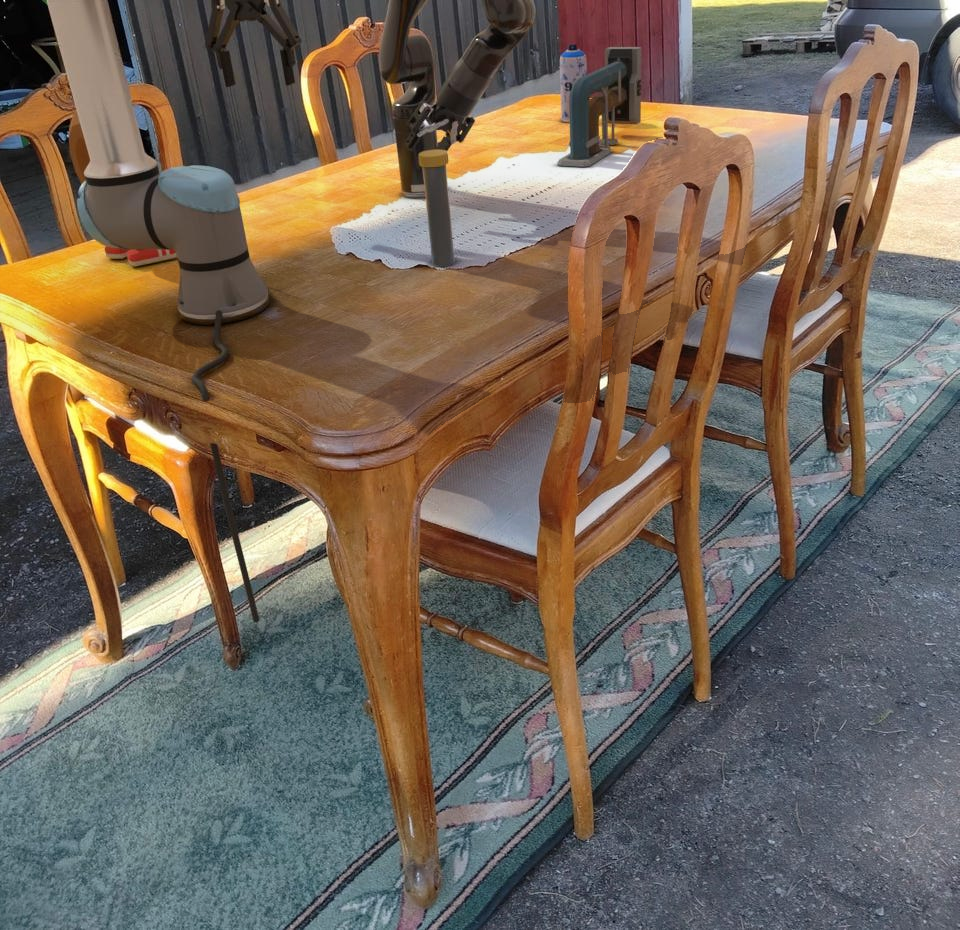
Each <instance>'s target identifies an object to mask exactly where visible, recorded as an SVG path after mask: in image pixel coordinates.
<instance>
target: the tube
mask: <svg viewBox="0 0 960 930" xmlns="http://www.w3.org/2000/svg"><path fill="white" fill-rule="evenodd" d="M422 168H423V178H424V188H425V197H424V198H425V205H426V215H427V223H428V224H427V225H428V235H429V236H428V237H429V245H430V253H431V254H430V255H431V263H432V265H433V266H435V267H448V266H449V267H450V266H452V265H453V264H455V262H456V261H455V250H454V249H455V248H454V238H453V228H452V227H453V226H452V216H451V206H450V205H451V204H450V194H449V183H448V172H447V164H446V165H444V166H439V167H422Z"/></svg>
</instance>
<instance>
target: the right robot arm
mask: <svg viewBox="0 0 960 930" xmlns="http://www.w3.org/2000/svg"><path fill="white" fill-rule="evenodd" d="M427 2H428V0H388V5H387V11H386V14H385V20H384V24H383V29H382V34H381V38H380V42H379V49H378V50H379V51H378V68H379V72H380V76H381V78H382V79H383V81H385V83H387V84H389V85H402V84H408V83H409V86H408V88H407V90H406V91H405V92H404V93H403V94H402V95H401V96H400V97H399V98H397V99H396V100H394V101H393V103H392V104H391V105H392V106H391V111H392V118H393V126H394V127H393V128H394V135H395V144H396V151H397V160H398V161H397V162H398V170H399V171H398V172H399V180H400V187H401V189H400V192H401V195H402V196H403V197H406V198H415V199H416V198H417V199H419V198H426V197H425V188H424V178H423V168H422V166H420V165H419V158H418V157H419V153H421V152H423V151H427V150H446V151H447V152H448V151H449V149H450V148H451V146H452V145H454V144H456V142H457V143H459V144H460V143H463V142H464V141H465V139H466V137H467V135H468V134H469V132H470V131H471V129H472V127H473V126H474V124H475V122H476V119H475V118H474V116H472V112H473V110H474V109H475V108H476V106H477V105H478V103H479V101H480V100H481V98H482V97H483V95H484V93H485V92H486V90H487V89H488V87H489V85H490V83H491V80H492V79H493V78H494V76H495V74H496V73H497V71H498V70H499V68H500V67H501V65H502V63H503V62H504V60H505V58H506V57H508V55H509V54H510V53H511V52H513V50H514V49H515V48H516V47H517V46H518V44H519V43H520V42H521V41H523V39H524V37H525V36H526V35H527V34H528V32H529V31H530V29H531V28H532V26H533V24H534V21H535V18H536V5H535V2H534V1H533V0H481V4H482V9H483V12H484V15H485V17H486V20H487V22H488V23H489V25H488V26H487V27H486V29H484V30H483V31H481V32H479V33H477V34H476V35H475V36H474V37H473V39H472V40H471V42H470V43H469V44H468V46H467V48H466V49H465V51H464V53H463V54H462V56H461V57H460V59H459V60H458V61H457V62H456V63H455V65H454V66H453V67H452V69H451V71H450V73H449V75H448V76H447V78H446V79H445V81H444V82H443V84H442V85H441V86H440V89H439V90H438V92H437V93H436V77H435V76H436V74H435V58H434V51H433V48H432V45H431V42H430V40H429V39H428V37H426V35H424V34H421V33H414V34H410V31H411V28H412V27H413V23H414V22H415V20H416V18H417V16H418V15H419V13H420V12H421V11H422V9H423V8H424V6H425V5H426V4H427ZM436 94H437V97H436ZM437 131H442V132H444V133H445V136H444V135H443V137H442V138H441V140H440V141H438V132H437Z"/></svg>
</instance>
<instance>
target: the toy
mask: <svg viewBox="0 0 960 930" xmlns="http://www.w3.org/2000/svg"><path fill="white" fill-rule="evenodd" d="M68 147H69V154H70V159H71V162H72V165H73V169H74V172H75V174H76V176H77V178H78V180H79V182H80V184H81V185H82V184H83V182H84V181H86V179H85V175H84V171H85V169H86V168H87V166H88V164H89V163H90V157H89V153H88V150H87V146H86V143H85V139H84V135H83V132H82V128H81V124H80V121H79V117H78V113H77V110H75V111H74V112H73V114H72V119H71V121H70V124H69V129H68ZM104 252H105V257H107V259H108V258H109V259H113V260H116V259H117V260H120V259H125V258H127V262H128V264H130V266H131V267H140V266H145V265H149V264H153V263H158V262H159V263H160V262H164V261H168V260H174V259H177V255H176V251H175V250H159V249H133V250H124V249H120V248H113V247H107V246H104Z"/></svg>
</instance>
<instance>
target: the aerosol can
mask: <svg viewBox="0 0 960 930" xmlns="http://www.w3.org/2000/svg"><path fill="white" fill-rule="evenodd" d="M585 75H588V63H587V55H586V54H585V52H584V51H583V50H581V49H579V48H578V44H577V43H574V44H568V48H567V49H566V50H565V51H563V52H562V53H561V55H560V56H559V79H560V81H559V83H560V84H559V85H560V113H561V115H560V116H561V117H560V121H561V122H563V123H570V114H569V96H570V91H571V89H572V86H573V85H574V84H575V83H576V82H577V81H578V79H579V78H581V77H583V76H585Z"/></svg>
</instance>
